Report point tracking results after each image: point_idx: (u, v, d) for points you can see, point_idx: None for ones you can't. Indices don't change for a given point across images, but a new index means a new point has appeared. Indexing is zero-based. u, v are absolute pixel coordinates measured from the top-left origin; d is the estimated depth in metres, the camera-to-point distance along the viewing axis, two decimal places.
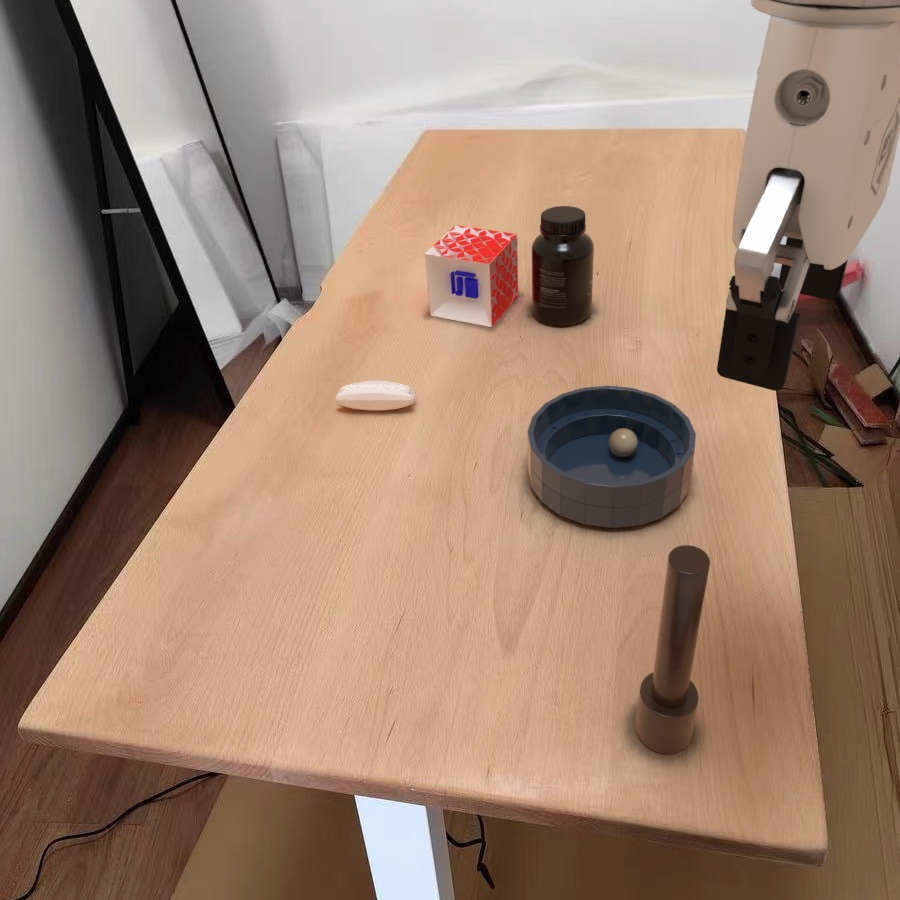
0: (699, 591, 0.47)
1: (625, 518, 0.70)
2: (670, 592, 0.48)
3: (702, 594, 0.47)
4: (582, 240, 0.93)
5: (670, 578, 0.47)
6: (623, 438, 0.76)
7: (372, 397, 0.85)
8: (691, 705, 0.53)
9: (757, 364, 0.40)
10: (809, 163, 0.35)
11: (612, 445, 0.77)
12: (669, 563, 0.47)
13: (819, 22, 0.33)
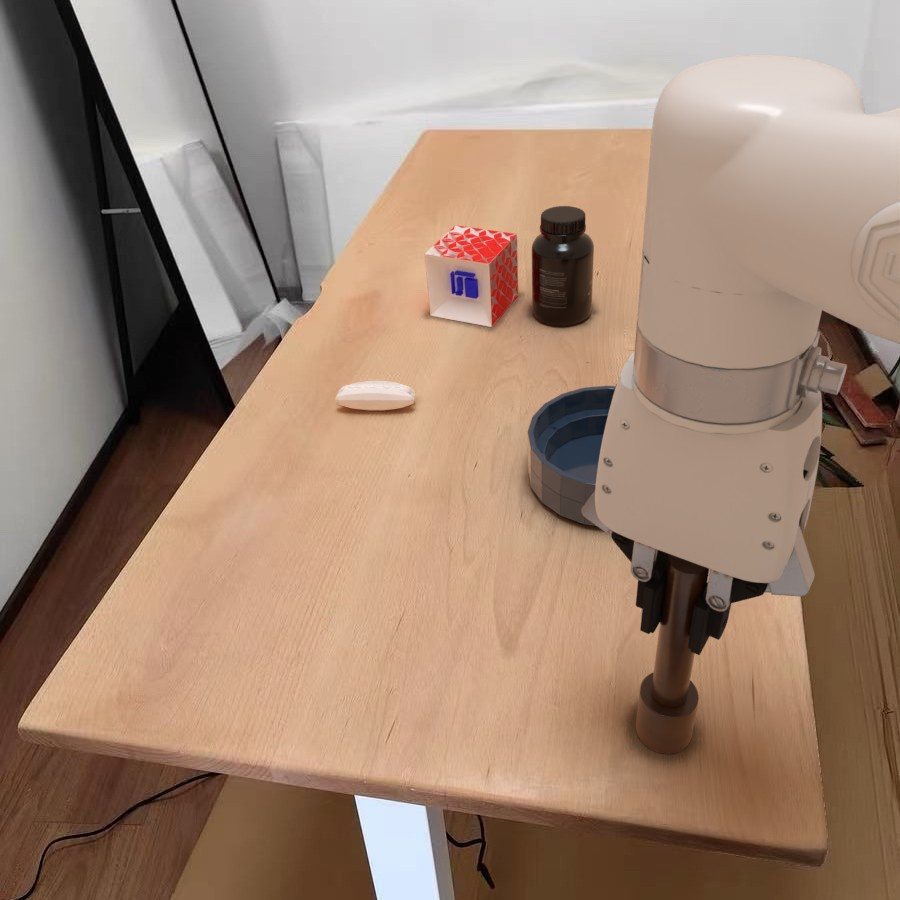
0: (699, 591, 0.47)
1: None
2: (670, 592, 0.48)
3: None
4: (582, 240, 0.93)
5: (670, 578, 0.47)
6: None
7: (372, 397, 0.85)
8: (692, 705, 0.53)
9: (726, 619, 0.48)
10: (811, 488, 0.41)
11: None
12: (669, 563, 0.47)
13: (798, 408, 0.38)
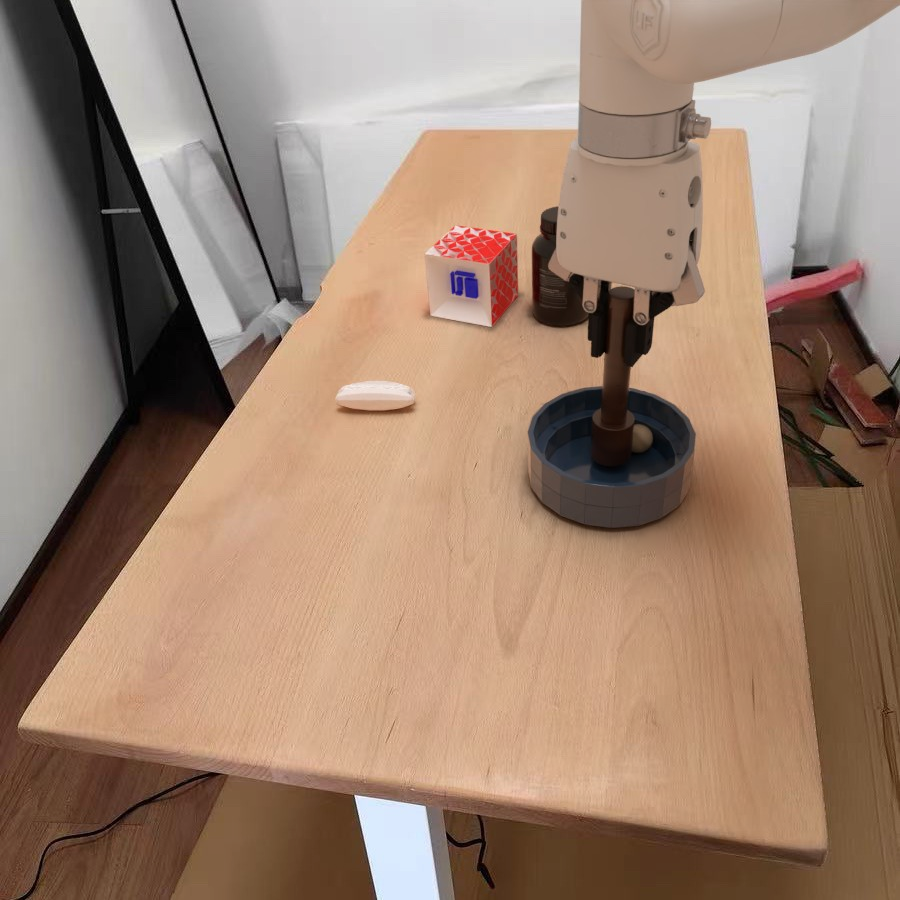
0: (630, 316, 0.67)
1: (625, 518, 0.70)
2: (610, 318, 0.68)
3: None
4: None
5: (609, 307, 0.68)
6: (649, 430, 0.77)
7: (372, 397, 0.85)
8: (629, 424, 0.74)
9: (650, 341, 0.69)
10: (698, 220, 0.61)
11: (636, 430, 0.77)
12: (608, 295, 0.67)
13: (683, 154, 0.58)
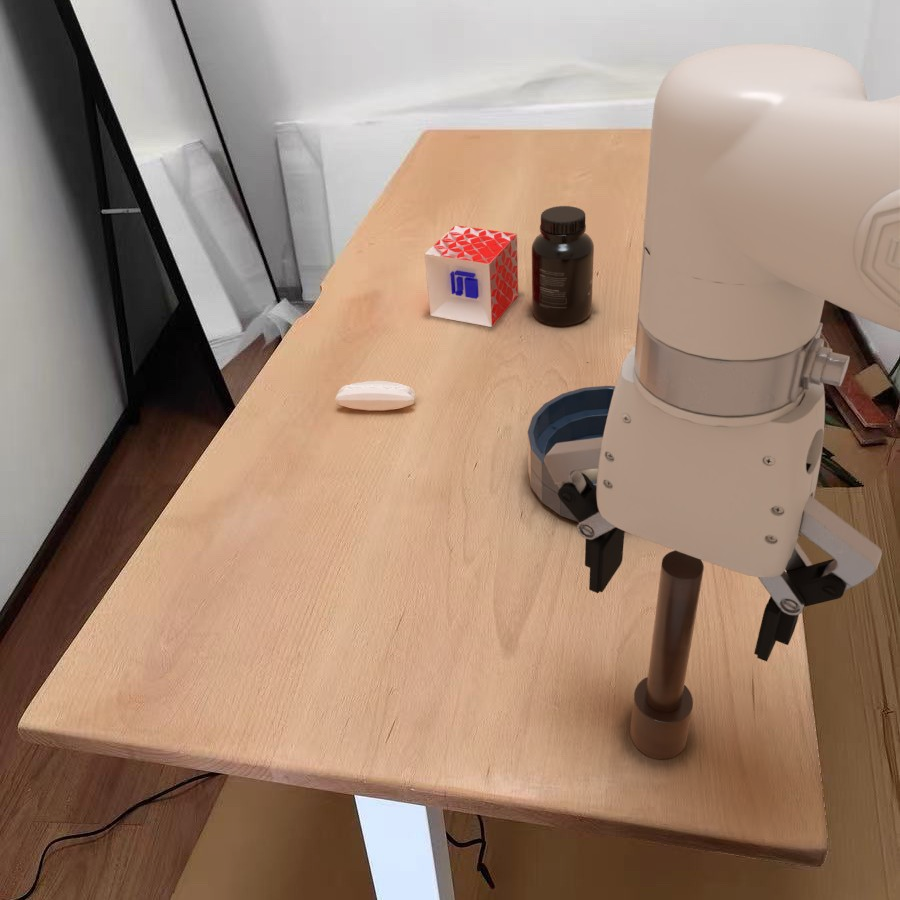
0: (692, 597, 0.47)
1: None
2: (663, 596, 0.47)
3: (695, 600, 0.47)
4: (582, 240, 0.93)
5: (663, 582, 0.47)
6: None
7: (372, 397, 0.85)
8: (685, 711, 0.53)
9: (795, 623, 0.46)
10: (814, 482, 0.41)
11: None
12: (662, 567, 0.47)
13: (801, 400, 0.38)
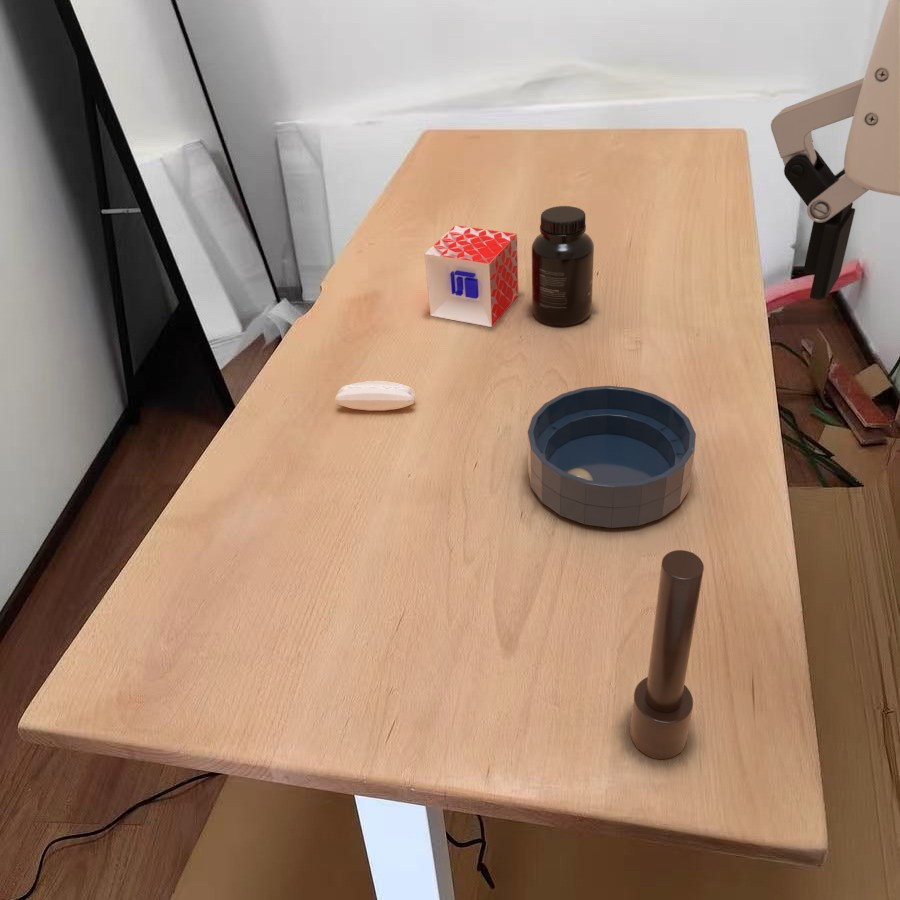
0: (692, 597, 0.47)
1: (625, 518, 0.70)
2: (663, 596, 0.47)
3: (695, 600, 0.47)
4: (582, 240, 0.93)
5: (663, 582, 0.47)
6: (587, 471, 0.73)
7: (372, 397, 0.85)
8: (685, 711, 0.53)
9: None
10: None
11: None
12: (662, 567, 0.47)
13: None
